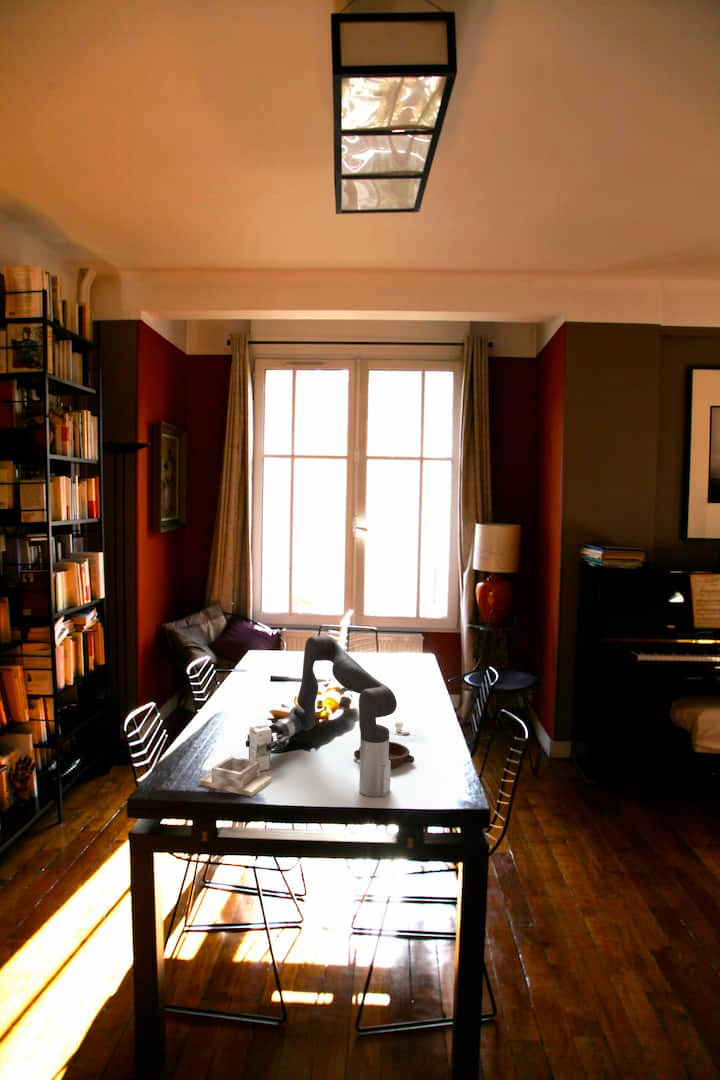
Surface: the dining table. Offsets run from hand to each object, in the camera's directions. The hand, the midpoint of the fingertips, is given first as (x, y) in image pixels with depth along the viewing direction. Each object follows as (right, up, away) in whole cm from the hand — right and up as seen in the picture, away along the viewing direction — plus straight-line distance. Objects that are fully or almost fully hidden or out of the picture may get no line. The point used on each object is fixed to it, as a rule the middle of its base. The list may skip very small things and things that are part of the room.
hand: (257, 746), depth 206 cm
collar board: (-5, -9, -10) cm, 14 cm away
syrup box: (0, -9, +2) cm, 9 cm away
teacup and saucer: (+50, -9, +39) cm, 65 cm away
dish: (+44, -10, +10) cm, 46 cm away
